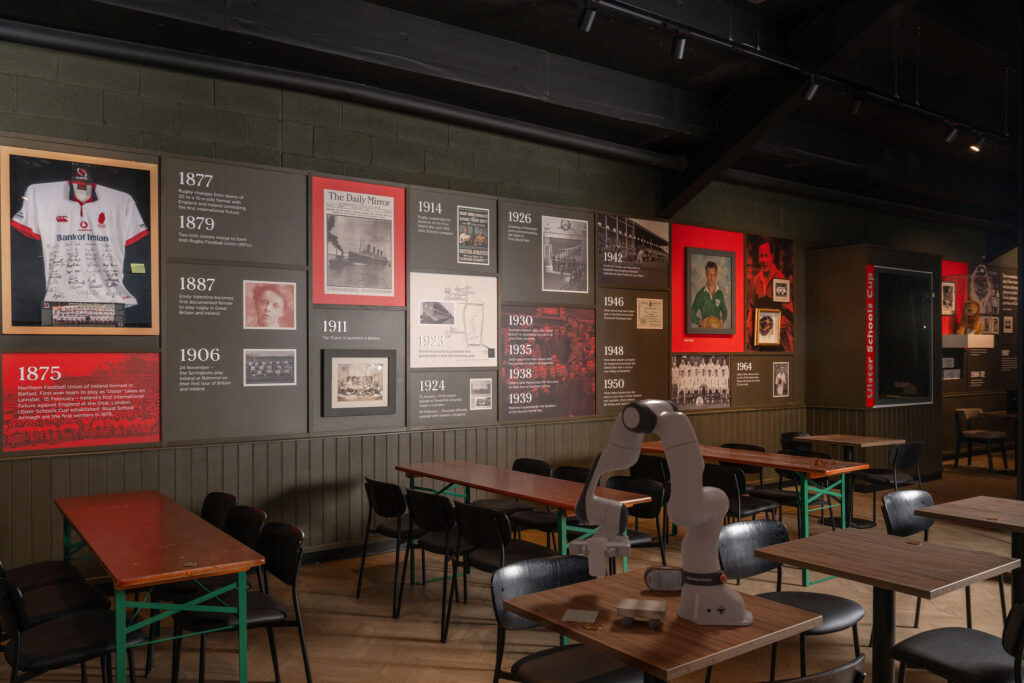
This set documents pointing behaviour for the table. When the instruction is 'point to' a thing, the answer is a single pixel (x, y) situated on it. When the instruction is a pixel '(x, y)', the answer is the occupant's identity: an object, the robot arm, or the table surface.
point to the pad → (581, 615)
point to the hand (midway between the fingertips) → (596, 553)
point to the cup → (597, 556)
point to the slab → (642, 611)
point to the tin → (663, 578)
